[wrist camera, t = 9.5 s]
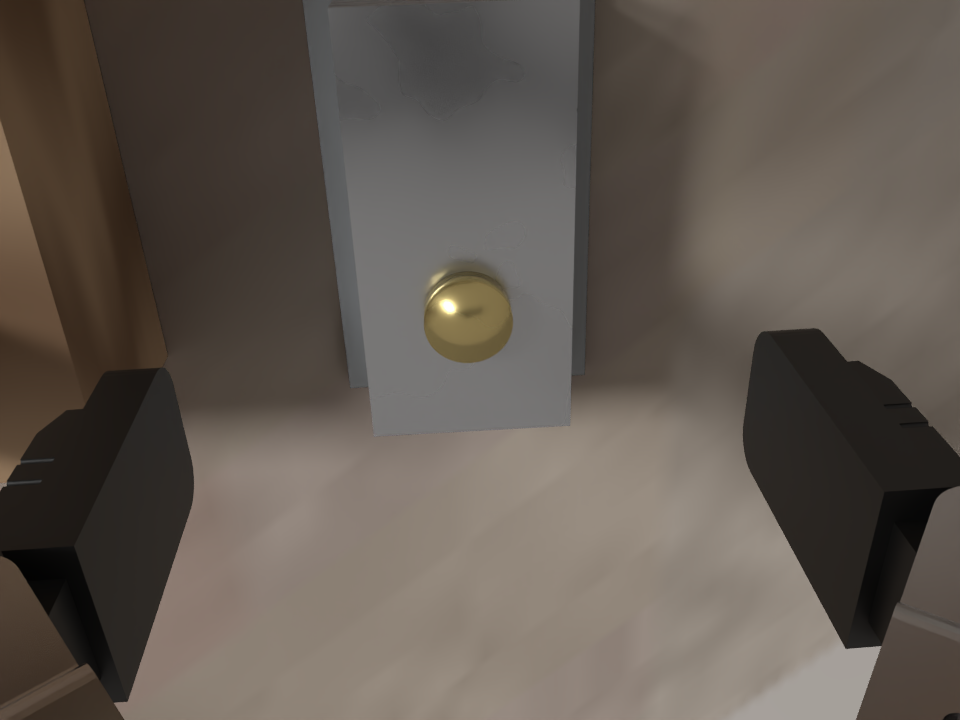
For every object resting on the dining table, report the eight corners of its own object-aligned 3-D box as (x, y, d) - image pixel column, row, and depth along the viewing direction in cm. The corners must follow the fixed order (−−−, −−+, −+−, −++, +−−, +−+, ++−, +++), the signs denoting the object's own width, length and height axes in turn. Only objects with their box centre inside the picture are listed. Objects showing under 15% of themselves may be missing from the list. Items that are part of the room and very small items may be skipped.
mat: (299, -42, 18) (297, -40, 18) (593, -54, 18) (596, -53, 18) (351, 380, 23) (350, 387, 23) (582, 367, 23) (584, 374, 23)
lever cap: (341, -15, 18) (324, 13, 15) (557, -24, 18) (585, 2, 15) (379, 369, 23) (372, 452, 20) (553, 359, 23) (573, 440, 20)
